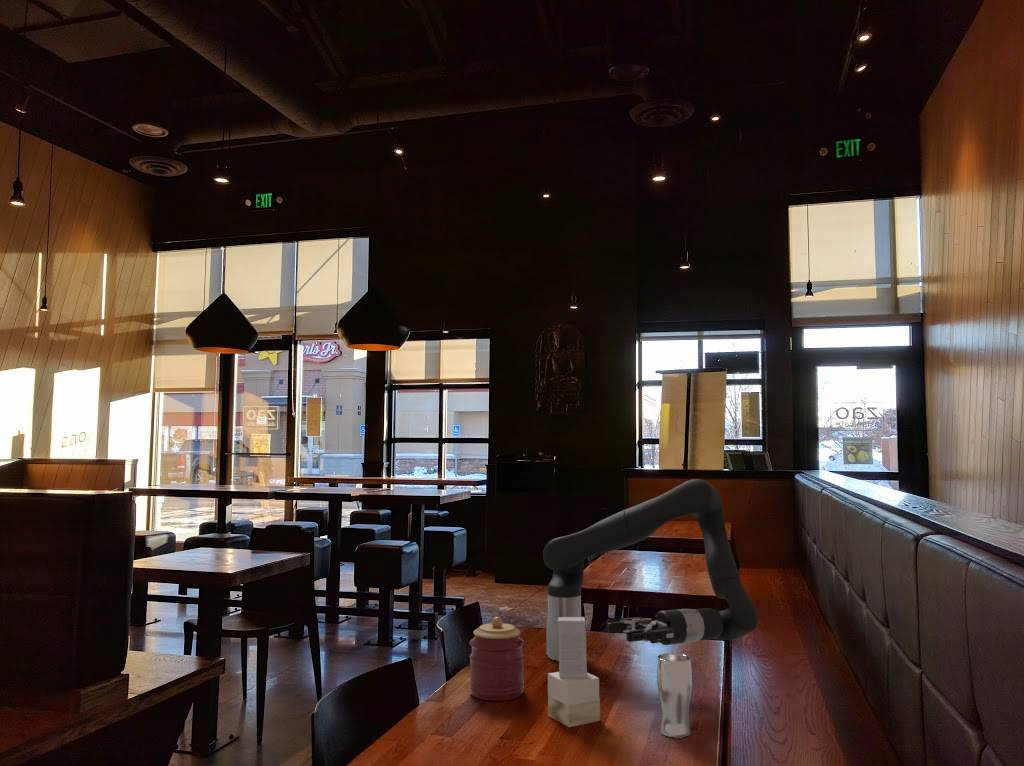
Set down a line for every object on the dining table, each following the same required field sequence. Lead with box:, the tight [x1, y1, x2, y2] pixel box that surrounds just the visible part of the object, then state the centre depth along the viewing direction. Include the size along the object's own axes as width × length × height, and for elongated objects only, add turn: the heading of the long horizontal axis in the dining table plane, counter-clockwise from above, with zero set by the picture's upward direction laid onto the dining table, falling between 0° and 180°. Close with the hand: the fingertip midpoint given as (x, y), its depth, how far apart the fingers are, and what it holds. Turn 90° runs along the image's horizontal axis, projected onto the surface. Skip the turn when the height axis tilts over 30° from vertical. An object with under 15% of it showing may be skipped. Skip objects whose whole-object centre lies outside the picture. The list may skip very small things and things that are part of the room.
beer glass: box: [656, 652, 693, 739], centre depth 154 cm, size 7×7×15 cm
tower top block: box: [547, 671, 600, 706], centre depth 162 cm, size 8×8×4 cm
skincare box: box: [558, 616, 588, 678], centre depth 163 cm, size 6×4×12 cm
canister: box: [468, 616, 525, 702], centre depth 179 cm, size 13×13×18 cm
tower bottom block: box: [547, 694, 601, 728], centre depth 162 cm, size 8×8×4 cm
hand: (617, 632), depth 167 cm, fingers open, 8 cm apart
